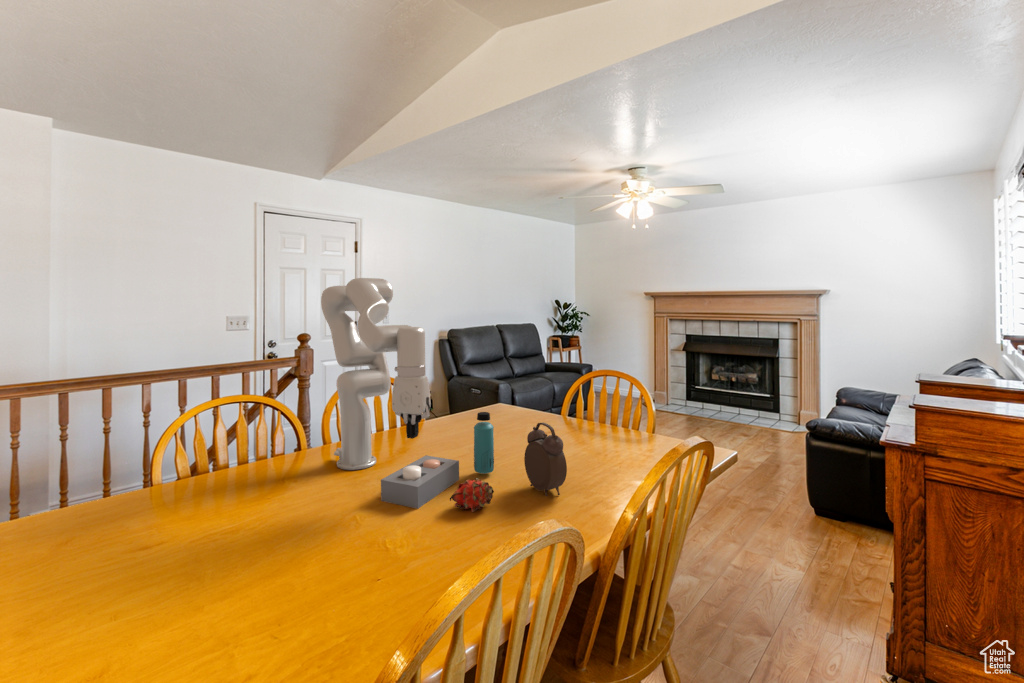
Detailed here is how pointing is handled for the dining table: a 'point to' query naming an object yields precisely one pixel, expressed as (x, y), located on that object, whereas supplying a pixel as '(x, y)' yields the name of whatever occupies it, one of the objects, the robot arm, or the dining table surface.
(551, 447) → the alarm clock
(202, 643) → the dining table surface
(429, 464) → the brown egg
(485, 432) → the beverage bottle
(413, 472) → the white rounded piece
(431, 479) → the grey rectangular block
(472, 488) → the dragon fruit
